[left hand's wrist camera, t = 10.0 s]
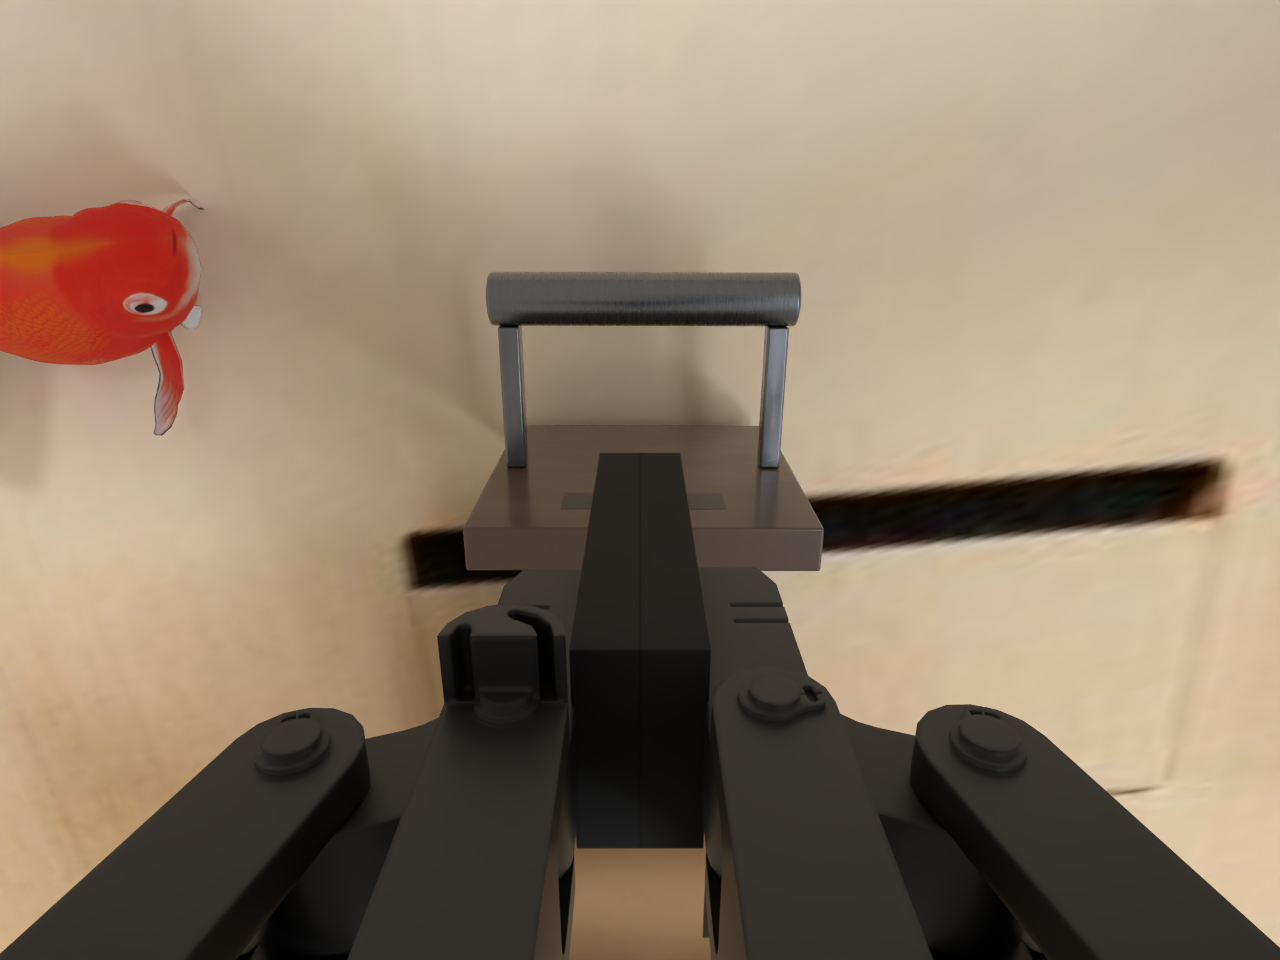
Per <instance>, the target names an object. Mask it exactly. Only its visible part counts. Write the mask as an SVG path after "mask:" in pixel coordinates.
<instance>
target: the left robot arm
mask: <svg viewBox="0 0 1280 960" xmlns="http://www.w3.org/2000/svg"><path fill="white" fill-rule="evenodd" d="M437 638H438V647H439V656H440V666H441V675H442V684H443V694H444V706H443V708H442V711H441V714H440V716H439V718H437V719H435V720H433V721H430V722H428V723H426V724H424V725H422V726H418V727H415V728H411V729H408V730H404V731H400V732H396V733H391V734H386V735H382V736H377V737H373V738H368V739H365V736H364V729H363V726H362V725H361V724H360V723H359V722H358V721H357V719H356V718H355V717H354V716H353V715H351V714H348V713H345V712H342V711H340V710H337V709H332V708H307V709H302V710H297V711H292V712H288V713H283V714H281V715H278V716H276V717H274V718H271V719H269V720H266V721H264V722H262V723H259V724H257V725H256V726H255V727H253V728H252V729H250V730H249V731H247V732H246V733H244V734H243V735H242V736H240V737H239V738H237V739H236V740H235V741H234V742H233V743H232V744H230V745H229V746H228V747H227V748H226V749H225V750H224V751H223V752H222V753H221V754H219V755H218V756H217V757H216V758H215V759H214V760H213V761H212V762H211V763H210V764H208V765H207V766H206V767H205V768H204V769H203V770H202V771H201V772H200V773H199V774H197V775H196V776H195V777H194V778H193V779H192V780H191V781H190V782H189V783H188V784H186V785H185V786H184V787H183V788H182V789H181V790H180V791H179V792H178V793H177V794H176V795H174V796H173V797H172V798H171V799H170V800H169V801H168V802H167V803H166V804H165V805H163V806H162V807H161V808H160V809H159V810H158V811H157V812H156V813H155V814H154V815H152V816H151V817H150V818H149V819H148V820H147V821H146V822H145V823H144V824H143V825H141V826H140V827H139V828H138V829H137V830H136V831H135V832H134V833H133V834H132V835H130V836H129V837H128V838H127V839H126V840H125V841H124V842H123V843H122V844H121V845H119V846H118V847H117V848H116V849H115V850H114V851H113V852H112V853H111V854H110V855H108V856H107V857H106V858H105V859H104V860H103V861H102V862H101V863H100V864H99V865H97V866H96V867H95V868H94V869H93V870H92V871H91V872H90V873H89V874H88V875H86V876H85V877H84V878H83V879H82V880H81V881H80V882H79V883H78V884H77V885H75V886H74V887H73V888H72V889H71V890H70V891H69V892H68V893H67V894H66V895H64V896H63V897H62V898H61V899H60V900H59V901H58V902H57V903H56V904H55V905H53V906H52V907H51V908H50V909H49V910H48V911H47V912H46V913H45V914H44V915H42V916H41V917H40V918H39V919H38V920H37V921H36V922H35V923H34V924H33V925H31V926H30V927H29V928H28V929H27V930H26V931H25V932H24V933H23V934H22V935H20V936H19V937H18V938H17V939H16V940H15V941H14V942H13V943H12V944H11V945H9V946H8V947H7V948H6V949H5V950H4V951H3V952H2V953H1V954H0V960H569V954H570V943H571V932H572V921H573V909H574V898H575V865H574V849H575V839H576V845H577V848H703V845H704V835H705V845H706V865H705V890H704V915H703V938H709V942H710V953H711V960H1280V948H1279V947H1278V946H1277V945H1276V944H1275V943H1274V942H1273V941H1272V940H1271V939H1269V938H1268V937H1267V936H1266V935H1265V934H1264V933H1263V932H1262V931H1261V930H1259V929H1258V928H1257V927H1256V926H1255V925H1254V924H1253V923H1252V922H1251V921H1249V920H1248V919H1247V918H1246V917H1245V916H1244V915H1243V914H1242V913H1241V912H1240V911H1238V910H1237V909H1236V908H1235V907H1234V906H1233V905H1232V904H1231V903H1230V902H1228V901H1227V900H1226V899H1225V898H1224V897H1223V896H1222V895H1221V894H1220V893H1218V892H1217V891H1216V890H1215V889H1214V888H1213V887H1212V886H1211V885H1210V884H1208V883H1207V882H1206V881H1205V880H1204V879H1203V878H1202V877H1201V876H1200V875H1198V874H1197V873H1196V872H1195V871H1194V870H1193V869H1192V868H1191V867H1190V866H1189V865H1187V864H1186V863H1185V862H1184V861H1183V860H1182V859H1181V858H1180V857H1179V856H1177V855H1176V854H1175V853H1174V852H1173V851H1172V850H1171V849H1170V848H1169V847H1167V846H1166V845H1165V844H1164V843H1163V842H1162V841H1161V840H1160V839H1159V838H1157V837H1156V836H1155V835H1154V834H1153V833H1152V832H1151V831H1150V830H1149V829H1147V828H1146V827H1145V826H1144V825H1143V824H1142V823H1141V822H1140V821H1139V820H1138V819H1136V818H1135V817H1134V816H1133V815H1132V814H1131V813H1130V812H1129V811H1128V810H1126V809H1125V808H1124V807H1123V806H1122V805H1121V804H1120V803H1119V802H1118V801H1116V800H1115V799H1114V798H1113V797H1112V796H1111V795H1110V794H1109V793H1108V792H1106V791H1105V790H1104V789H1103V788H1102V787H1101V786H1100V785H1099V784H1098V783H1096V782H1095V781H1094V780H1093V779H1092V778H1091V777H1090V776H1089V775H1088V774H1087V773H1085V772H1084V771H1083V770H1082V769H1081V768H1080V767H1079V766H1078V765H1077V764H1075V763H1074V762H1073V761H1072V760H1071V759H1070V758H1069V757H1068V756H1067V755H1065V754H1064V753H1063V752H1062V751H1061V750H1060V749H1059V748H1058V747H1057V746H1055V745H1054V744H1053V743H1052V742H1051V741H1050V740H1049V739H1048V738H1047V737H1045V736H1044V735H1043V734H1041V733H1040V732H1039V731H1037V730H1036V729H1034V728H1033V727H1031V726H1030V725H1028V724H1027V723H1026V722H1024V721H1023V720H1020V719H1018V718H1015V717H1013V716H1011V715H1008V714H1006V713H1003V712H1001V711H999V710H996V709H991V708H987V707H982V706H976V705H971V704H970V705H945V706H942V707H940V708H937V709H934V710H931V711H928V712H927V713H926V714H925V715H924V717H923V718H922V719H921V720H920V721H919V722H918V723H917V729H916V736H914V735H909V734H904V733H900V732H895V731H890V730H886V729H881V728H877V727H873V726H870V725H866V724H863V723H860V722H857V721H855V720H852V719H850V718H848V717H846V716H844V715H842V714H840V712H839V710H838V707H837V704H836V702H835V701H834V699H833V698H832V696H831V695H830V693H829V692H828V691H827V689H826V688H825V687H824V686H822V685H821V684H819V683H818V682H816V681H815V680H813V679H812V678H810V677H809V676H808V675H807V672H806V669H805V666H804V663H803V660H802V657H801V654H800V651H799V649H798V646H797V643H796V640H795V637H794V634H793V631H792V628H791V626H790V623H788V617H787V614H786V611H785V608H784V607H783V603H782V600H781V597H780V594H779V591H778V588H777V585H776V583H774V582H773V581H772V580H771V579H770V578H768V577H767V576H766V575H765V574H764V573H763V572H761V571H760V570H759V569H758V568H698V564H697V558H696V551H695V545H694V538H693V532H692V525H691V519H690V512H689V506H688V499H687V493H686V486H685V480H684V473H683V467H682V460H681V454H680V453H600V454H599V460H598V467H597V473H596V480H595V486H594V493H593V499H592V506H591V512H590V519H589V525H588V532H587V538H586V545H585V551H584V558H583V564H582V570H523V571H522V572H521V573H519V574H518V575H517V576H516V577H515V578H513V579H512V580H511V581H510V582H509V583H508V584H506V585H505V586H504V588H503V591H502V594H501V597H500V600H499V603H498V605H495V606H487V607H483V608H480V609H477V610H473V611H470V612H467V613H465V614H463V615H461V616H459V617H458V618H456V619H454V620H453V621H451V622H449V623H448V624H447V625H446V626H445V627H444V629H443V630H442V631H441V632H440V633H439V635H438V636H437Z"/></svg>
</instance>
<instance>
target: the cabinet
mask: <svg viewBox="0 0 1280 960" xmlns="http://www.w3.org/2000/svg"><path fill="white" fill-rule="evenodd" d="M574 865H575V898H574V909H573V921H572V932H571V943H570V954H569V960H711V953H710V942H709V938H703V915H704V890H705V865H706V845H705V835H704V845H703V848H577V845H576V839H575V849H574Z"/></svg>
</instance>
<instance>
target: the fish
mask: <svg viewBox="0 0 1280 960" xmlns="http://www.w3.org/2000/svg"><path fill="white" fill-rule="evenodd" d="M186 202H190V203H191V204H193V205H194V206H196V207H197V208H199V209H203V208H202V207H201V206H200V205H199V204H198V203H197V202H196V201H195V200H194V199H187V200H181V201H178V202H176V203H174V204H172V205H170V206H168V207H166V208H165V209H164V210H162V211H160V210H157V209H155V208H153V207H151V206H149V205H147V204H145V203H142V202H138V201H132V200H125V201H120V202H118V203H115V204H112V205H110V206H106V207H103V208H88V209H85V210H81V211H79V212H78V213H76V214H75V215H74V216H55V217H38V218H29V219H24V220H21V221H18V222H15V223H13V224H10V225H8V226H5V227H3V228H0V350H2V351H4V352H7V353H10V354H14V355H17V356H20V357H24V358H27V359H31V360H35V361H39V362H45V363H53V364H75V365H95V364H102V363H105V362H109V361H113V360H116V359H120V358H123V357H127V356H131V355H134V354H137V353H140V352H142V351H144V350H146V349H147V348H149V347H151V350H152V353H153V356H154V359H155V361H156V363H157V366H158V369H159V372H160V377H159V385H158V389H157V393H156V397H155V406H154V411H155V422H156V425H155V431H154V434H155V435H163V434H164V433H165V432H166V431H167V430H168V429H170V428H171V426H172V424H173V422H174V420H175V417H176V415H177V409H178V404H179V402H180V400H181V397H182V393H183V390H184V382H183V369H182V360H181V358H180V355H179V352H178V350H177V347H176V345H175V342H174V340H173V337H172V335H171V331H172V330H173V329H174V328H175V327H176V326H178V325H179V324H181V325H182V326H183V327H184V328H187V329H194V328H196V327H197V326H198V324H199V321H200V317H201V313H202V308H201V307H200V306H194V305H195V304H196V299H197V293H198V287H199V281H200V276H201V264H200V260H199V256H198V253H197V250H196V246H195V243H194V240H193V238H192V237H191V236H190V234H189V233H188V232H187V230H186V229H185V228H184V226H183V225H182V224H181V223H180V221H178V220H177V219H175V218H173V217H172V215H173V213H174V211H175V209H176V207H177V206H179V205H181V204H184V203H186ZM203 210H204V209H203Z"/></svg>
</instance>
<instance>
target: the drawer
mask: <svg viewBox="0 0 1280 960" xmlns="http://www.w3.org/2000/svg"><path fill="white" fill-rule="evenodd" d="M486 303H487V312H488V317H489V320H490V322H491V324H492V325H495V326H499V328H498V336H499V352H500V368H501V384H502V401H503V417H504V433H505V450H504V452H503V454H502V456H501V458H500V459H499V461H498V463H497V465H496V467H495V469H494V471H493V473H492V475H491V477H490V478H489V480H488V482H487V484H486V486H485V488H484V490H483V492H482V494H481V496H480V497H479V499H478V501H477V503H476V505H475V507H474V509H473V511H472V513H471V515H470V516H469V518H468V520H467V522H466V524H465V526H464V528H463V535H464V547H465V558H466V568H467V570H582V564H583V558H584V551H585V545H586V538H587V532H588V525H589V519H590V512H591V506H592V499H593V493H594V486H595V480H596V473H597V467H598V460H599V454H600V453H680V454H681V460H682V467H683V473H684V480H685V486H686V493H687V499H688V506H689V512H690V519H691V525H692V532H693V538H694V545H695V551H696V558H697V564H698V568H758V569H759V570H760V571H819V570H820V566H821V556H822V545H823V535H824V529H823V527H822V525H821V523H820V521H819V520H818V518H817V516H816V514H815V512H814V510H813V509H812V507H811V505H810V503H809V501H808V500H807V498H806V496H805V494H804V492H803V490H802V489H801V487H800V485H799V483H798V481H797V479H796V478H795V476H794V474H793V472H792V470H791V468H790V467H789V465H788V463H787V461H786V459H785V458H784V456H783V454H782V452H781V450H780V447H781V433H782V418H783V404H784V390H785V375H786V361H787V347H788V333H789V329H788V327H786V326H794V325H796V323H797V320H798V317H799V313H800V306H801V284H800V279H799V276H798V274H796V273H649V272H491V273H490V274H489V275H488V279H487V285H486ZM521 326H765V339H764V356H763V373H762V390H761V407H760V424H759V426H526V406H525V387H524V367H523V348H522V328H521Z"/></svg>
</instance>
